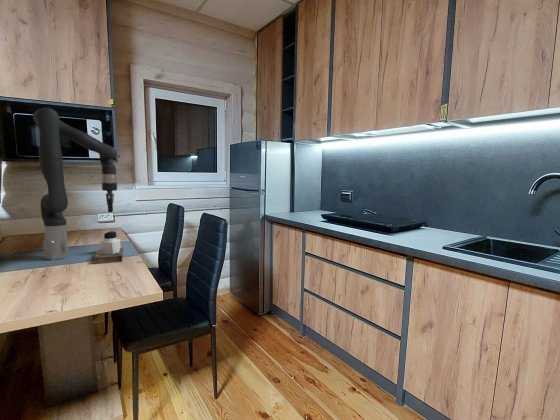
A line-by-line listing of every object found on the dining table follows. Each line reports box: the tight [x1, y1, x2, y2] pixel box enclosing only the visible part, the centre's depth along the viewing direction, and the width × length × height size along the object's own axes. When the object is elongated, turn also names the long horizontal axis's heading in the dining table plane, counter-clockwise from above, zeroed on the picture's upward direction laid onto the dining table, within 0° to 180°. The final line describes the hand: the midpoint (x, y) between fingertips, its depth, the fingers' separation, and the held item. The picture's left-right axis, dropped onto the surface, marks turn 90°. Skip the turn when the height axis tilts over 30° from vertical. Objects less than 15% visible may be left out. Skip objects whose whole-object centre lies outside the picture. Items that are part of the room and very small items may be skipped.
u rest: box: [93, 247, 124, 265], centre depth 156 cm, size 18×12×3 cm, turn 26°
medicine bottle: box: [99, 230, 121, 255], centre depth 166 cm, size 7×7×12 cm
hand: (110, 211), depth 173 cm, fingers open, 4 cm apart
